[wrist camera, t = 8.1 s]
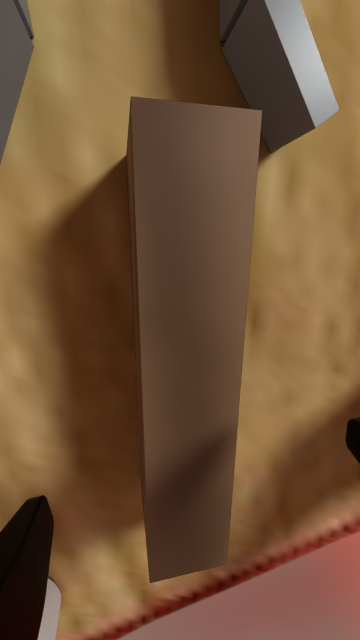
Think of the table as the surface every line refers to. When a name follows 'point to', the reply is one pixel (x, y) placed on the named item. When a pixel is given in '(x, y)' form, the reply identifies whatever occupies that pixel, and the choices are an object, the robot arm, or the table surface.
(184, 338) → the walnut slat
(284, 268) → the table surface
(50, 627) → the can
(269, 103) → the grey stepped block
